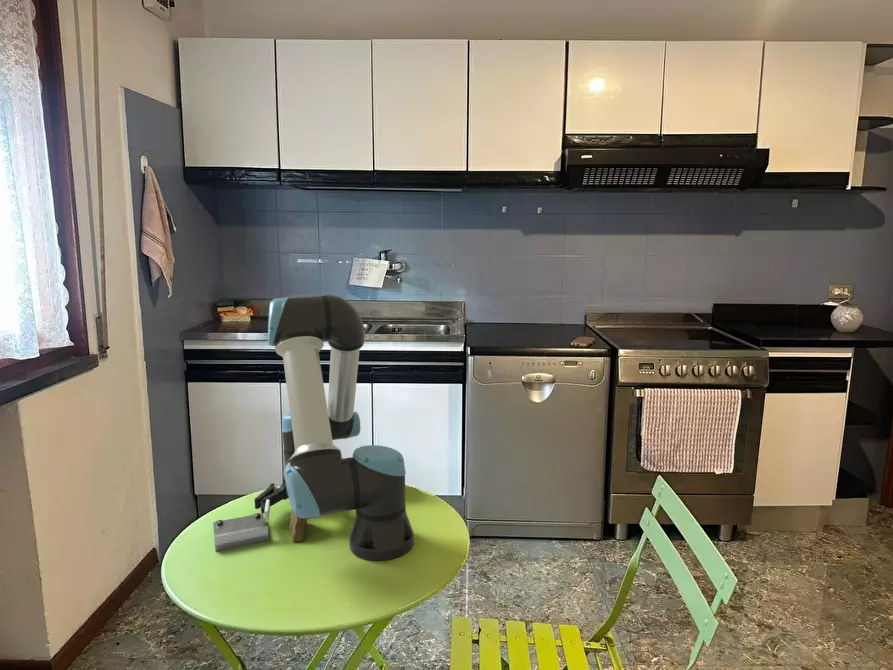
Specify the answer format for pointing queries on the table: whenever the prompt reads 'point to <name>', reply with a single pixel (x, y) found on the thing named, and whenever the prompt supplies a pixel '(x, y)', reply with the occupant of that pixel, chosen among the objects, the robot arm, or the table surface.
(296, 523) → the rock
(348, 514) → the table surface
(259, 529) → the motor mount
